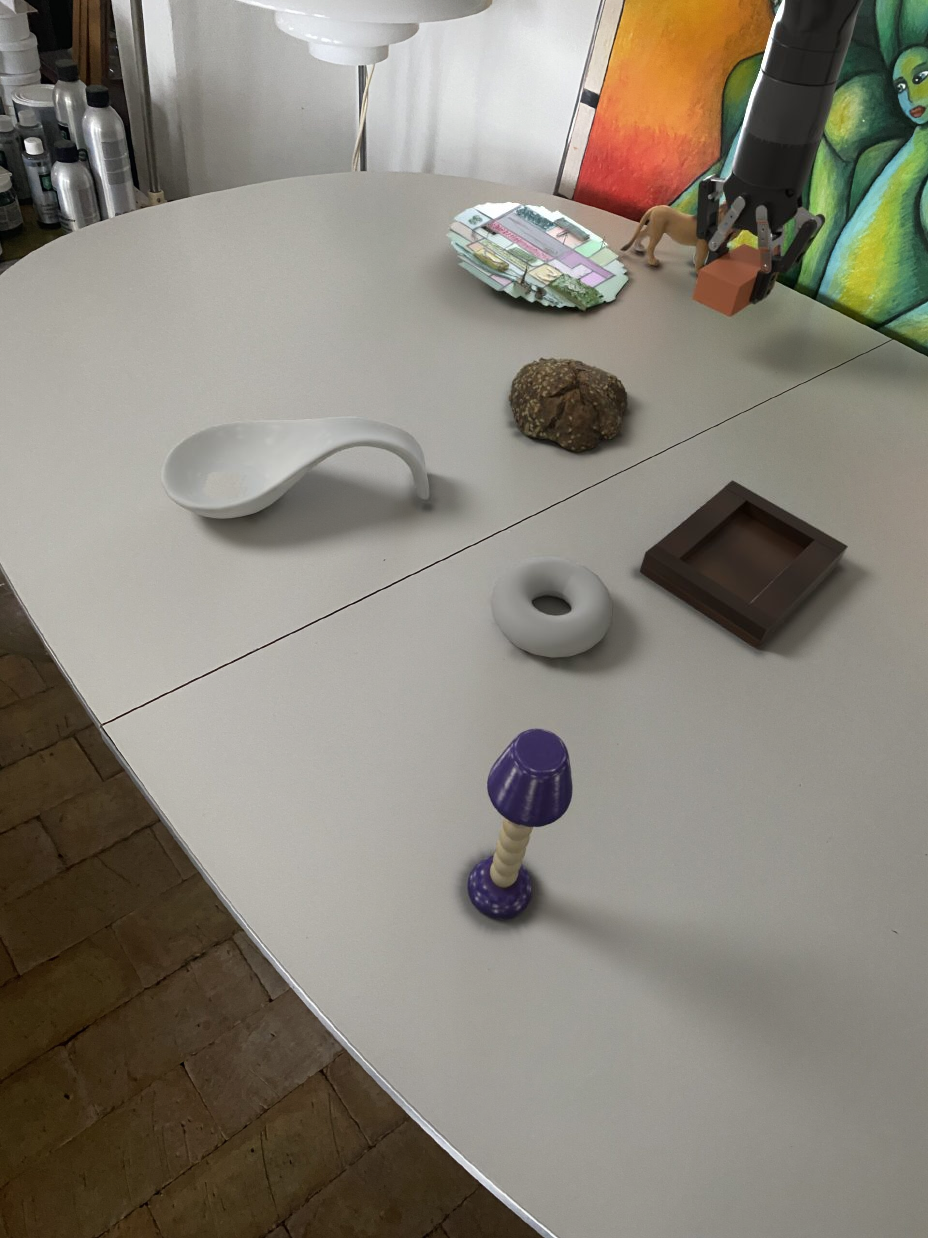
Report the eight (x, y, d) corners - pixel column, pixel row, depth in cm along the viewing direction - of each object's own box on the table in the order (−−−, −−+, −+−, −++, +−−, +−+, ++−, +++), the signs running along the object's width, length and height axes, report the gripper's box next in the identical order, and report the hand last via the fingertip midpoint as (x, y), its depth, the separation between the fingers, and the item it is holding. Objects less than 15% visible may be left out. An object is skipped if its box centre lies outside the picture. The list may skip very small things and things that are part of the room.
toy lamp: (505, 840, 59) (536, 697, 46) (555, 890, 57) (602, 754, 44) (453, 885, 57) (471, 748, 44) (503, 939, 55) (537, 810, 42)
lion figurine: (730, 261, 115) (752, 192, 108) (731, 281, 112) (753, 210, 105) (620, 245, 116) (634, 175, 110) (617, 263, 113) (632, 193, 106)
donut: (472, 644, 70) (592, 681, 68) (474, 616, 68) (598, 654, 66) (511, 563, 77) (621, 595, 75) (514, 534, 74) (629, 566, 72)
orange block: (735, 272, 100) (743, 242, 98) (773, 289, 98) (783, 259, 96) (691, 299, 96) (699, 268, 93) (730, 317, 94) (739, 286, 91)
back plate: (724, 499, 84) (732, 479, 82) (837, 565, 79) (848, 545, 77) (639, 571, 77) (645, 551, 75) (756, 649, 72) (766, 629, 70)
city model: (603, 352, 103) (619, 305, 98) (416, 290, 104) (423, 241, 99) (634, 259, 119) (650, 215, 114) (472, 206, 120) (481, 161, 115)
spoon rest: (163, 544, 75) (145, 480, 70) (172, 457, 83) (156, 393, 77) (435, 527, 79) (438, 465, 73) (420, 445, 86) (421, 383, 81)
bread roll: (517, 370, 96) (522, 329, 92) (629, 389, 95) (639, 348, 91) (496, 440, 87) (501, 398, 84) (619, 462, 86) (629, 420, 83)
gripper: (869, 138, 83) (807, 304, 96) (740, 95, 89) (698, 256, 102) (832, 159, 79) (772, 329, 92) (699, 112, 85) (661, 278, 98)
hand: (733, 290), depth 97 cm, fingers closed on orange block, 5 cm apart
